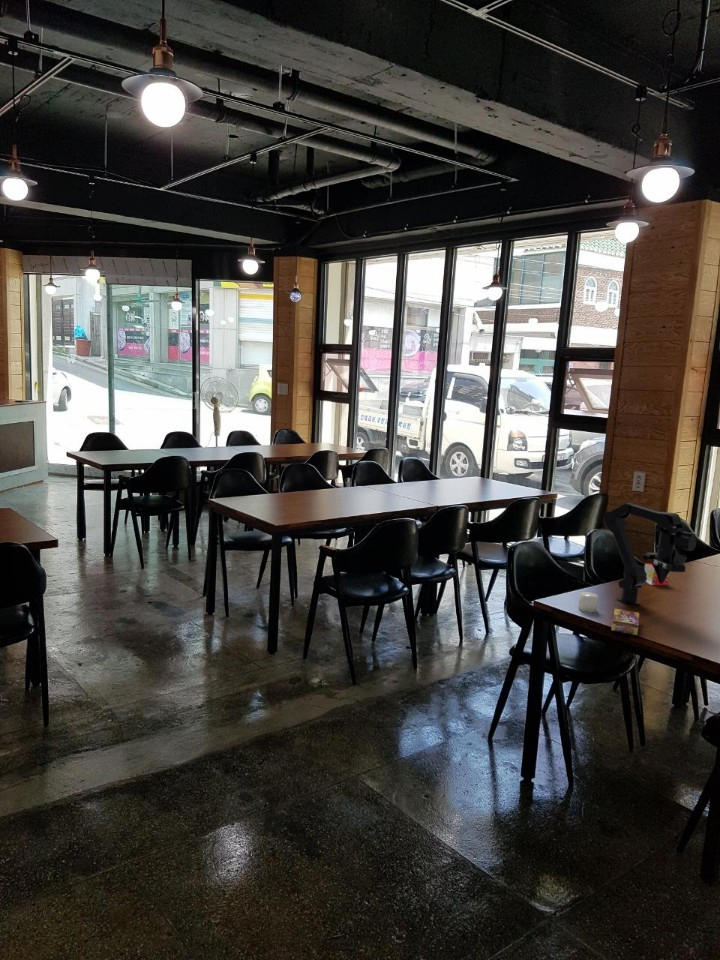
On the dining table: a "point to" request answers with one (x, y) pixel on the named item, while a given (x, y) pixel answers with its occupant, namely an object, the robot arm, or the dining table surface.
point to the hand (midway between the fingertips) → (661, 583)
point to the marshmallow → (588, 602)
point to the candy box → (625, 621)
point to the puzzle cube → (654, 576)
